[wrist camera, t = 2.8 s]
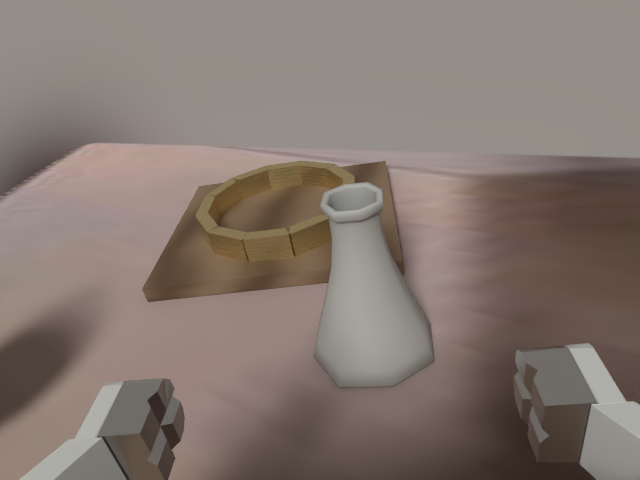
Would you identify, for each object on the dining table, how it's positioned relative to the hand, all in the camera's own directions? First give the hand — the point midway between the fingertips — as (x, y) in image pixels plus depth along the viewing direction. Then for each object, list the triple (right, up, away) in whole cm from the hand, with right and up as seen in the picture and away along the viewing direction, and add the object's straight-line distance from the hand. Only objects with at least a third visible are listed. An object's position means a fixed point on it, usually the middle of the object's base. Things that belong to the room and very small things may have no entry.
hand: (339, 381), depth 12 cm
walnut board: (-4, +4, +31) cm, 32 cm away
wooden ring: (-4, +5, +31) cm, 31 cm away
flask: (+3, -3, +18) cm, 18 cm away
